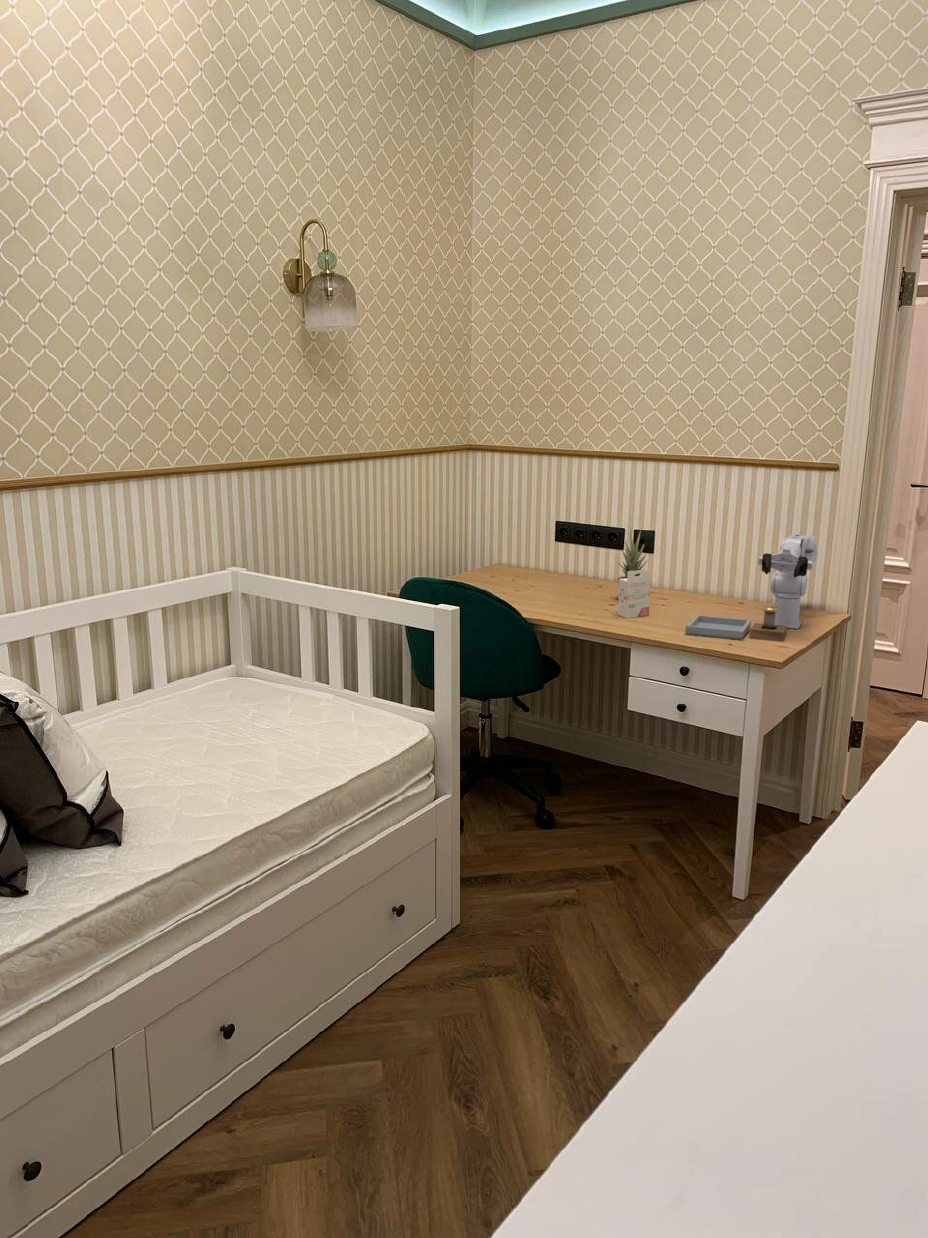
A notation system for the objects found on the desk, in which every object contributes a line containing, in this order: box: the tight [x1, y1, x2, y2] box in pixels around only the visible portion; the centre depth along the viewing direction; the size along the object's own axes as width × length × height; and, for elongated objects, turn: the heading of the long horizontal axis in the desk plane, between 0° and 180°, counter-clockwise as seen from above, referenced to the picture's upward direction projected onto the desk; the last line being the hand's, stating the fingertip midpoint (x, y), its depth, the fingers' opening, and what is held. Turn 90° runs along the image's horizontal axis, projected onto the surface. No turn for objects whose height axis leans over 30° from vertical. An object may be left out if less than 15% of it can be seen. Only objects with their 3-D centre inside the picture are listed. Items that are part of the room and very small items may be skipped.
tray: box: [685, 614, 752, 641], centre depth 283 cm, size 16×16×2 cm
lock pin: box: [761, 605, 778, 630], centre depth 277 cm, size 4×4×8 cm
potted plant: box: [616, 528, 648, 585], centre depth 324 cm, size 10×10×25 cm
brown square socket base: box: [749, 622, 788, 642], centre depth 277 cm, size 9×9×2 cm
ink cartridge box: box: [617, 569, 651, 619], centre depth 302 cm, size 9×5×15 cm, turn 114°
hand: (780, 572), depth 269 cm, fingers open, 7 cm apart
